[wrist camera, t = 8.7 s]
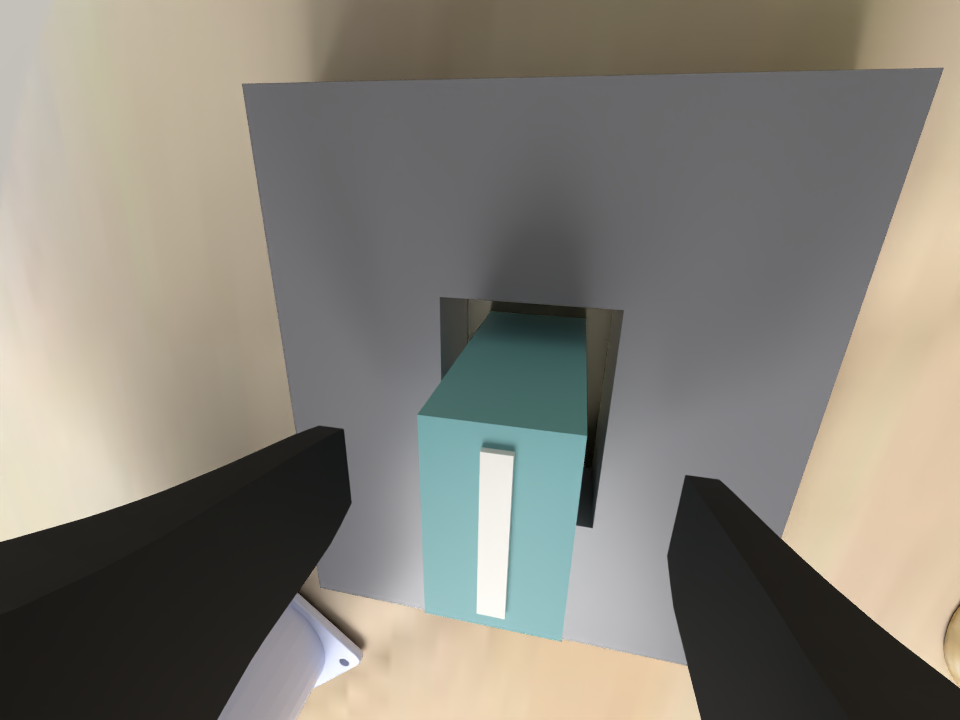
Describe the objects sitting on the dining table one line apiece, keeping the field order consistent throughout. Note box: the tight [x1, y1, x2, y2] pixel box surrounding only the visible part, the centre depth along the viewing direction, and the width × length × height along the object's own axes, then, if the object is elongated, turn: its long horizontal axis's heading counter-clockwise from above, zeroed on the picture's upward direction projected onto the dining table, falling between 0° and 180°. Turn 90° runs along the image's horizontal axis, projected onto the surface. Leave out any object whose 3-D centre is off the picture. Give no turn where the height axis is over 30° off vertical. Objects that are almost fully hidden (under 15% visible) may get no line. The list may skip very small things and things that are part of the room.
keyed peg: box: [417, 311, 587, 642], centre depth 12 cm, size 5×3×7 cm, turn 179°
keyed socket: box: [242, 68, 944, 666], centre depth 14 cm, size 16×14×3 cm
